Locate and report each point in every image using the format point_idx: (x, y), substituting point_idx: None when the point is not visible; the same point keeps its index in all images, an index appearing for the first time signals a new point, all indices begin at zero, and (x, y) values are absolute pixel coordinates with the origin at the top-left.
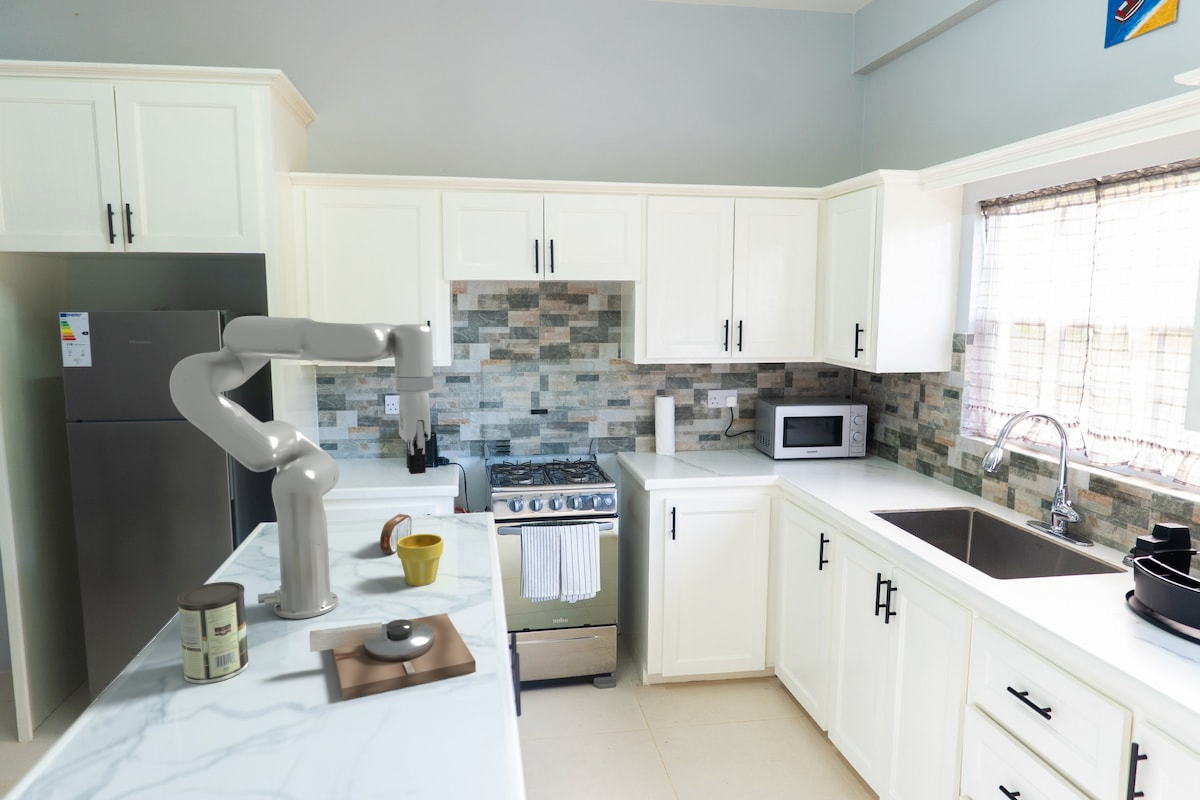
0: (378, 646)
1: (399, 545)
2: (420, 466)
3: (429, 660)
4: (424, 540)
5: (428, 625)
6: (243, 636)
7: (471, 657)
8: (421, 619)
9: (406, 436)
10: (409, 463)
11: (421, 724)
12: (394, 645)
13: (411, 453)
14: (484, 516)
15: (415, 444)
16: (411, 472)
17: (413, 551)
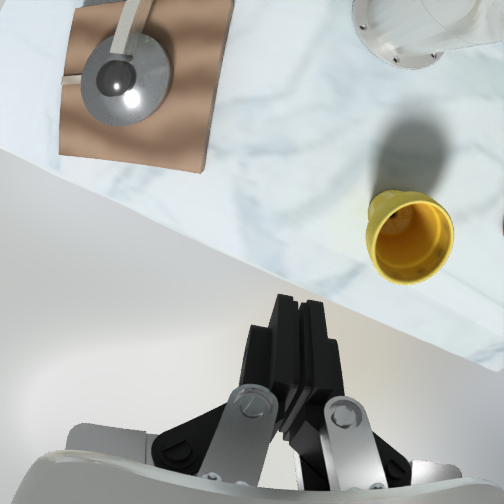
0: (104, 47)
1: (420, 200)
2: (244, 358)
3: (79, 106)
4: (432, 260)
5: (128, 124)
6: None
7: (66, 153)
8: (197, 131)
9: (44, 494)
10: (285, 335)
11: (19, 80)
12: (95, 67)
13: (233, 396)
14: (493, 370)
15: (158, 465)
16: (275, 302)
17: (384, 212)
